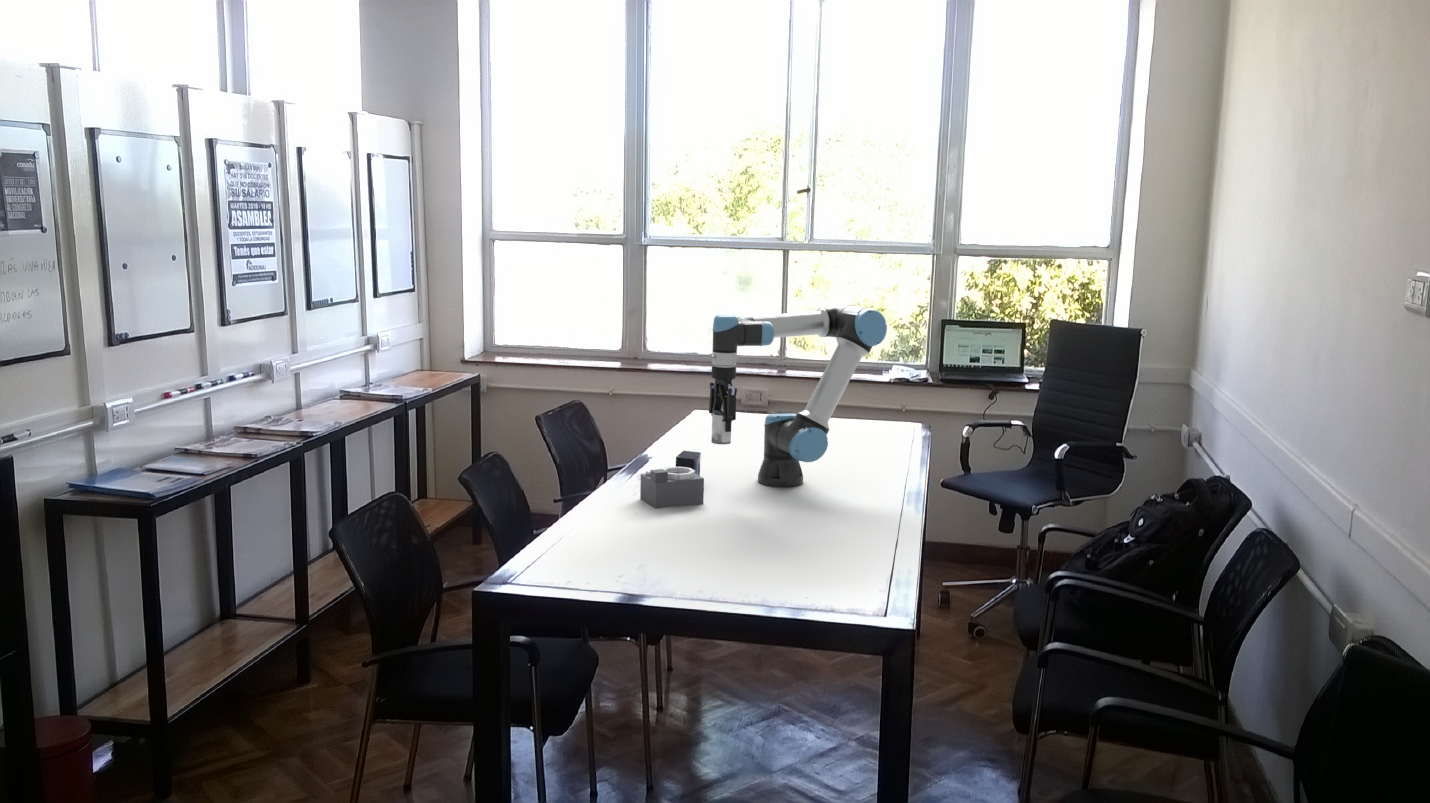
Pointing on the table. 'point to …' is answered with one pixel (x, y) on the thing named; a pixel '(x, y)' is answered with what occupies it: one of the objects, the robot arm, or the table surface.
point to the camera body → (671, 487)
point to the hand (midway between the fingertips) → (721, 439)
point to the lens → (717, 427)
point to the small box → (689, 460)
